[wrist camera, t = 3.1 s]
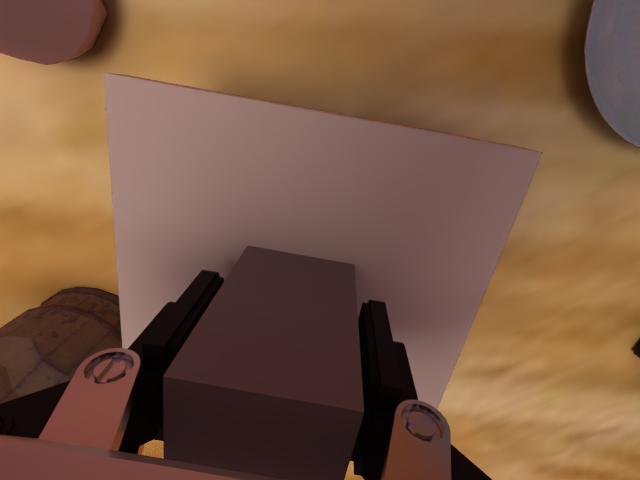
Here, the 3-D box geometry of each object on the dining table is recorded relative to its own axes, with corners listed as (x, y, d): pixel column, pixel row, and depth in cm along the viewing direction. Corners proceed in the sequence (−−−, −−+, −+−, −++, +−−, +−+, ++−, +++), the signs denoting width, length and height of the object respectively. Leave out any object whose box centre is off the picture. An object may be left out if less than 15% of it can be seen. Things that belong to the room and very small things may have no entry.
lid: (524, 147, 12) (787, 219, 5) (414, 429, 17) (464, 658, 10) (125, 74, 12) (-197, 40, 5) (139, 380, 17) (-3, 577, 10)
